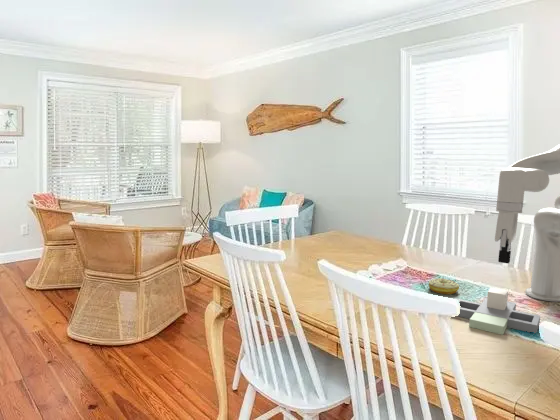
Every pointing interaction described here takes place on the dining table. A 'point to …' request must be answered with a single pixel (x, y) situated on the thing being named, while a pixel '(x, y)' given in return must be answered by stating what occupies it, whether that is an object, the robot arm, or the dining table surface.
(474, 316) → the board
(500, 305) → the cream block
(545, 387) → the dining table surface
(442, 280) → the decorated donut
